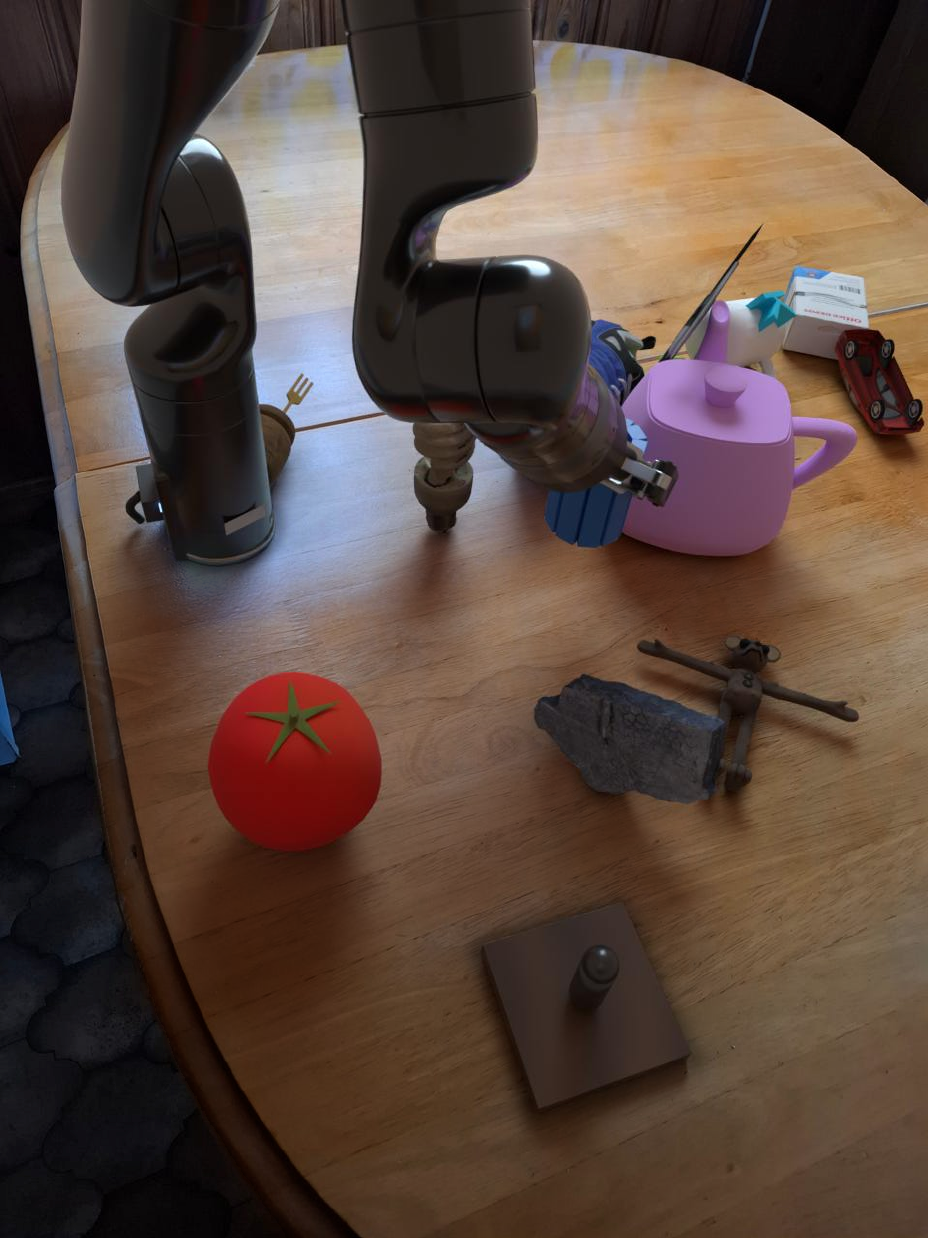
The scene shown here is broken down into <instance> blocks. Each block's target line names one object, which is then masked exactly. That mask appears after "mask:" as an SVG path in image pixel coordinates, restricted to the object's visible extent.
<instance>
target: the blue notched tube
mask: <svg viewBox="0 0 928 1238" xmlns="http://www.w3.org/2000/svg"><path fill="white" fill-rule="evenodd" d="M625 419H626V424H627V441H629V442H630V443H632V444H633V445H635V446H636V447H638V448H640V449H641V450H642V451H643V458H644V455H645V451H646V448H647V445H648V442H647V437H646V435H645V434H644V433H643V431H642V430H641V428H640V427H639V425H634V421H632V420H630V419H627V418H625ZM607 478H608V479H609V478H610V477H607ZM633 478H634V476H633V477H632V479H631V482H632V480H633ZM631 499H632V496H631V494H630V493H629V492H627V491H626V492H625V493H623V494H619V493H617V492H614V491H612V490H609V489H607V488H605V487H604V486H602V485H600V484H597V485H595V486H593V487H591V488H589V489H586V490H583V491H579V492H573V493H561V492H555V491H552V490H549V489H548V492H547V497H546V504H545V508H544V513H543V516H544V517H543V519H544V522H545V523H546V525H547V527H548V529H549V531H550V533H552V534H554V536H555V537H556V538H557V539H559V540H561V541H563V542H565V543H567V544H568V545H570V546H574V545H575V544H576V547H577V548H587V549H588V548H589V549H598V548H599V546H600V547H601V548H604V547H606V546H608V545H609V544H611V543H614V542H615V541H617V540H619V538H620V537H621V536H622V533H623V532H622V530H623V527H624V523H625V520H626V516H627V513H628V510H629V506H630V503H631Z"/></svg>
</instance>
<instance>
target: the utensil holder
mask: <svg viewBox="0 0 928 1238" xmlns="http://www.w3.org/2000/svg"><path fill="white" fill-rule="evenodd" d="M304 375H305V374H304V373H300V374H299V376H298V377H297V378H296V380H295V381H294V383H293V384H292V385H291V387H290V388H289V389H288V391H287V392H286V398H287V400H288V402H287V404H286V406H284V408H283V410H282V409H280V408H278V407H276V406H274V405H272V404H268V403H259V408H260V416H261V423H262V431H263V439H264V447H265V455H266V463H267V471H268V479H269V486H270V488H271V487H272V486H273V485H274V483H275V482H276V481H277V479H278V478H279V475H280V474H281V472H282V471H283V469H284V467H285V465H286V464H287V462H288V460H289V458H290V455H291V450H292V448H291V447H292V446H293V444H294V441H295V438H296V427H295V424H294V423H293V420H292V419H291V417H290V416H289V415H288V414H287V412H288V410H289V409H290V407H291V406H292V405H295V406H299V405H301V403H302V402H303V400H304V399H305V397H306V396H307V395H308V393H309V392H310V390H311V388H312V387H313V386H314V382H313V381H310V382H309V384H308V385H307V383H308V381H309V378H308V377H305V376H304ZM303 377H305V378H304V380H303V381H302V383H301V384H300V386H299V387H298V388H297V389H296V387H297V386H298V385H299V383H300V382H301V380H302V379H303ZM306 385H307V387H306V388H305V390H304V391H303V392H302V390H303V389H304V387H305V386H306ZM295 389H296V391H295ZM301 392H302V394H301V395H300V393H301Z"/></svg>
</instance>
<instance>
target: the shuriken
mask: <svg viewBox="0 0 928 1238" xmlns="http://www.w3.org/2000/svg"><path fill="white" fill-rule="evenodd" d="M764 224H765V222H762V224H761V225H760V226H759V227H758V228H757V229H756V230H755V232H754V233H752V235H751V236H750V237H749V239H748V240H747V242H746V243H745V244H744V245H743V247H742V248H741V250H740V251H739V253H738V254H737V255H736V257H735V258H734V259H733V261H732V262H731V263H730V264H729V266H728V267H727V269H726V270H725V271H724V273H723V274H722V276H721V277H720V279H719V280H718V281H717V283H716V284H715V285H714V287H713V288H712V289H711V291H710V292H709V293H708V294H707V295H706V296H705V297H704V298H703V299H702V301H700V304H698V305H697V307H696V308H695V309H694V311H693V312H692V314H691V315H690V316H689V318H688V319H687V321H686V322H685V323H684V325H683V326H682V328H681V329H680V330H679V332H678V333H677V335H676V336H675V338H674V339H673V341H672V342H671V344H670V345H669V346H668V347H667V349H666V350H665V352H664V353H663V357H662V358H661V360H660V361H659V360H658V362H657V363H659V362H662V361H666V360H673V358H674V357H677V354H678V353H679V352H680V350H681V349H682V348H683V347H684V346H685V342H686V341H687V340H688V338H689V337H690V336H691V334H692V333H693V331H694V330H695V329H696V327H697V326H698V324H699V323H700V322H701V320H702V319H703V318H704V316H705V315H706V314H707V312H708V311H709V310H710V308H711V307H712V305H713V304H714V302H716V301H717V298H718V297H719V295H720V293H721V292H722V290H723V289H724V287H725V285H726V284H727V282H728V281H729V279H730V278H731V277H732V275H733V274H734V272H735V271H736V269H737V268H738V266H739V265H740V259H741V258H742V257H743V255H744V254H745V253H746V251H747V250H748V249H749V247H750V246H751V244H752V243H753V242H754V240H755V239H756V238H757V236H758V234H759V233H760V230H761V229H762V227H763V225H764Z"/></svg>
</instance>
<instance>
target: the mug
mask: <svg viewBox="0 0 928 1238" xmlns="http://www.w3.org/2000/svg"><path fill="white" fill-rule="evenodd" d="M784 296H785V292H784V290H775V291H769V292H762V293H761V294H759V295H758V296H757V297H750V298H743V299H735V300H726V301H724V302H725V303H726V304H727V305H728V308H729V311H730V322H729V330H728V341H727V361H726V364H730V365H734V366H739V367H742V368H745V367H748V366H752V365H756V364H759V366H760V369H761V371H762V372H761V373H763V374H766V375H768V376H770V377H773V378H774V379H776V380H778V379H777V373H776V370H775V367H774V363H773V361H772V359H771V358H772V357H773V356H775V355H776V354H777V353H778V352H779V351H780V349H781V347H782V346H783V341H784V338H785V334H786V323H787V322H788V321H789V320H791V319H792V318H794V317H795V316H796V314H795V312H794V310H793V309H791V308H790V307H789V306H787V305H786V304H785V303H783V301H782V300H781V299H782V298H784ZM711 308H712V307H711ZM711 308H710V310H709V311H708V312H707V314H706V315H705V316H704V318H703V319H702V320H701V322H700V323H699V324H698V326H697V327H696V329H695V330H694V331H693V333H692V334H691V336H690V337H689V338H688V340H687V341H686V342H685V344H684V347H685V352H686V354H687V356H688V357H689V360H693V359H694V357H695V355H696V353H697V352H698V350H699V347H700V345H701V343H702V341H703V338H704V335H705V333H706V329H707V326H708V322H709V316H710V311H711Z"/></svg>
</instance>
